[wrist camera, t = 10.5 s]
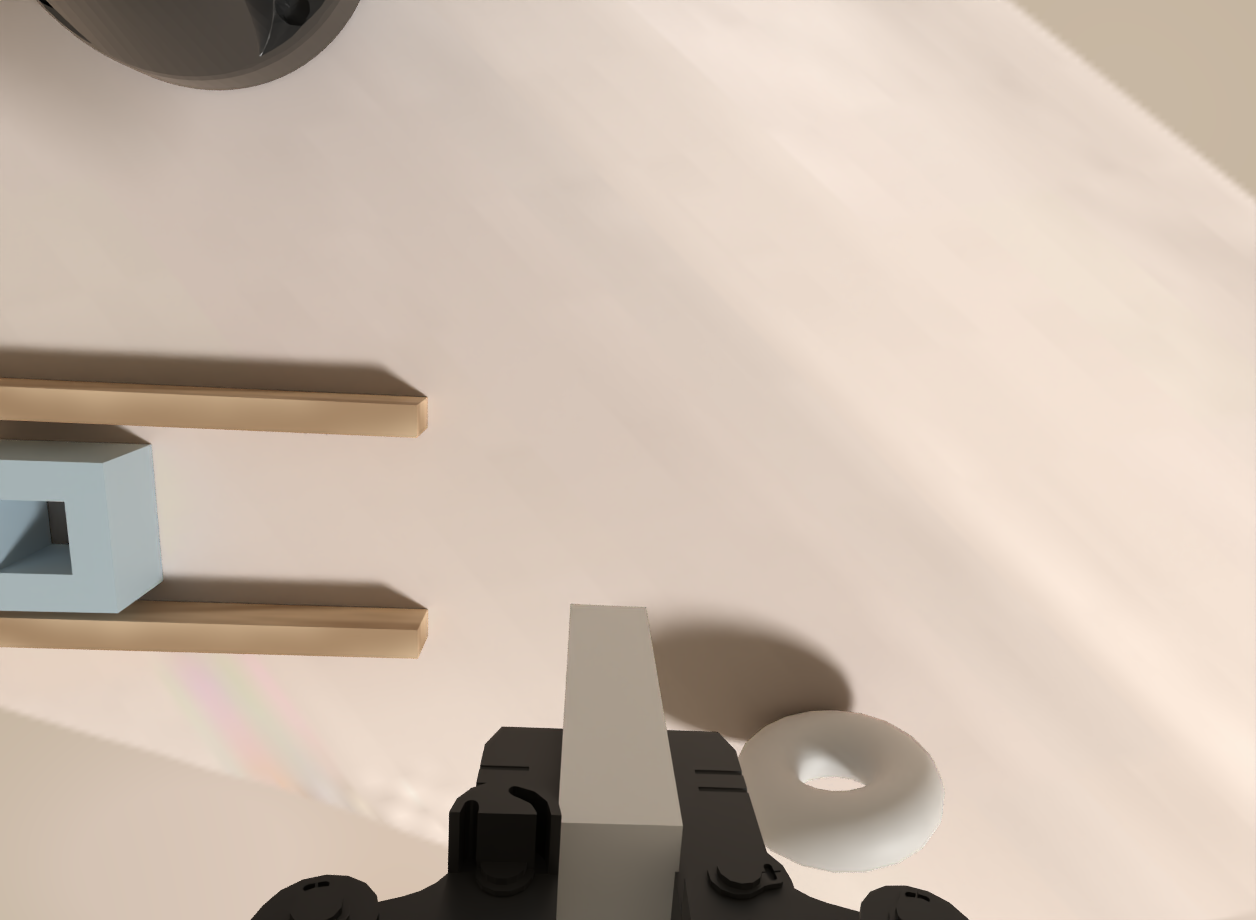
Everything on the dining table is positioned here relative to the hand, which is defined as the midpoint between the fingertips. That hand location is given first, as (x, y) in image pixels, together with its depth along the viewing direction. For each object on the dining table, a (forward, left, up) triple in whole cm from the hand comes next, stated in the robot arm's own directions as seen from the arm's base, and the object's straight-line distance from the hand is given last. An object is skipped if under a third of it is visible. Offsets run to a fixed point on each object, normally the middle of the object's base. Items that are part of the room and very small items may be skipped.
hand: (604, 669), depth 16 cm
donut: (+16, +12, -25) cm, 32 cm away
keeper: (+5, -25, -24) cm, 35 cm away
